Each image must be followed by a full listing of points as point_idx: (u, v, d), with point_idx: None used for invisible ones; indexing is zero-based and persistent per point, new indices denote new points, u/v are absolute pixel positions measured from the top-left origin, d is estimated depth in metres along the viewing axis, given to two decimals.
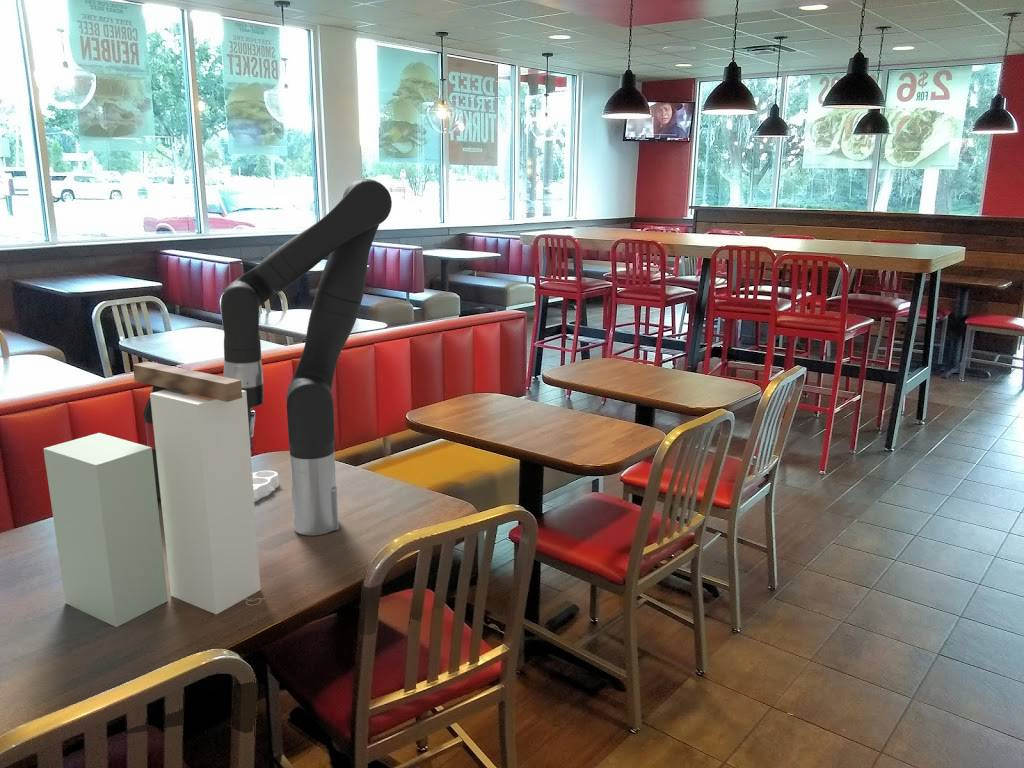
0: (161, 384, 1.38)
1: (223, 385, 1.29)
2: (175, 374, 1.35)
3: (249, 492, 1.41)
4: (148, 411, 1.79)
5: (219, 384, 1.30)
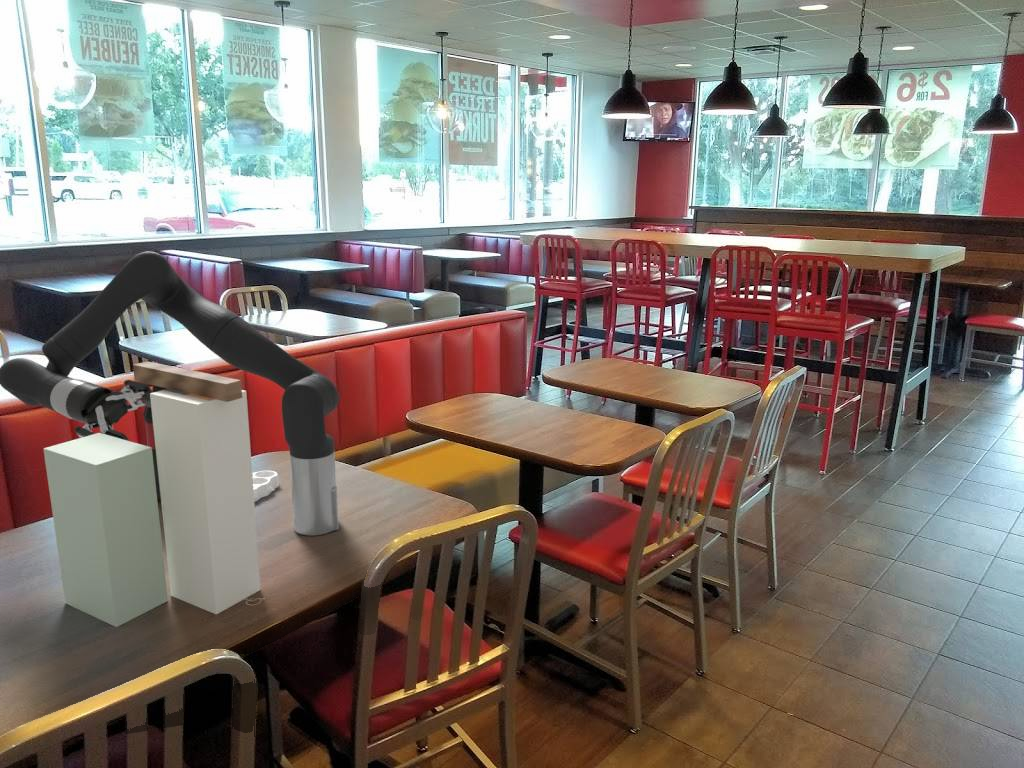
0: (161, 384, 1.38)
1: (223, 385, 1.29)
2: (175, 374, 1.35)
3: (249, 492, 1.41)
4: (148, 411, 1.79)
5: (219, 384, 1.30)
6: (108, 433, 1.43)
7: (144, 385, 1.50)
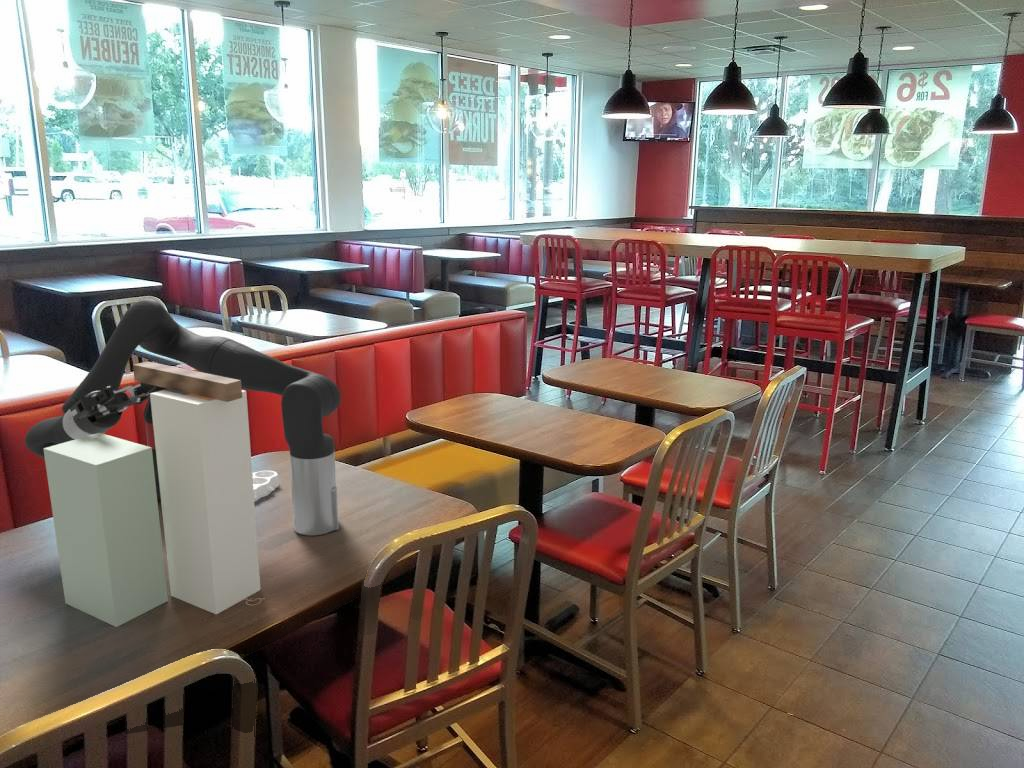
0: (161, 384, 1.38)
1: (223, 385, 1.29)
2: (175, 374, 1.35)
3: (249, 492, 1.41)
4: (148, 411, 1.79)
5: (219, 384, 1.30)
6: None
7: None
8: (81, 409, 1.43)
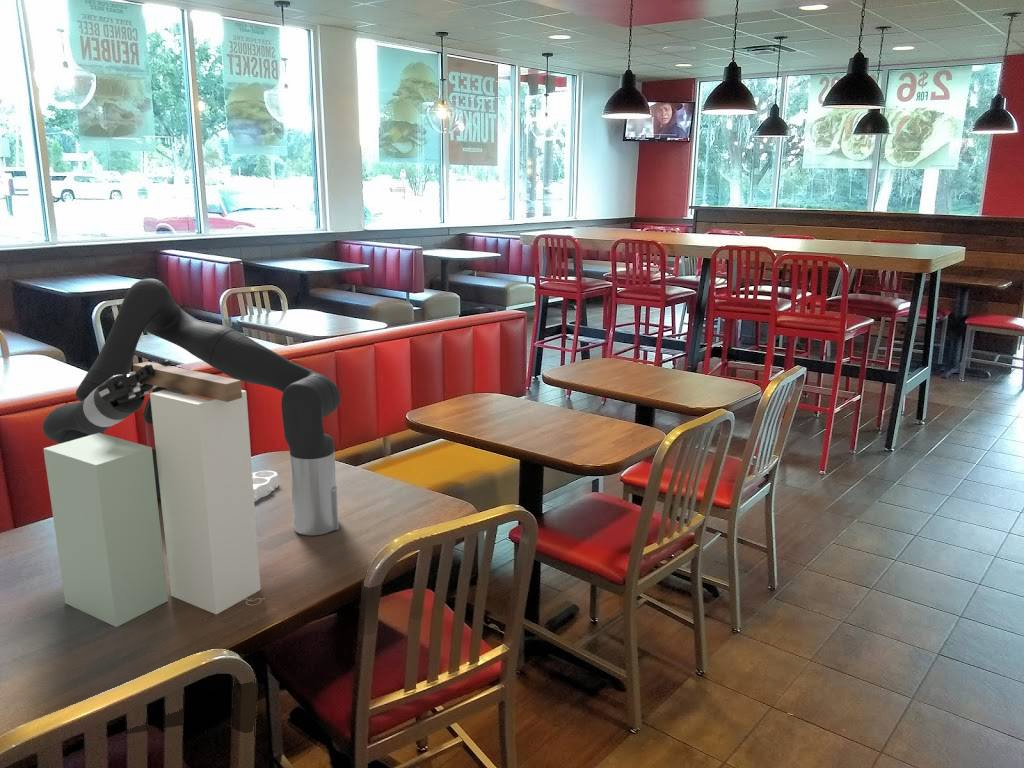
0: (160, 384, 1.38)
1: (223, 385, 1.29)
2: (175, 374, 1.35)
3: (249, 492, 1.41)
4: (148, 411, 1.79)
5: (218, 384, 1.30)
6: None
7: None
8: (116, 388, 1.39)
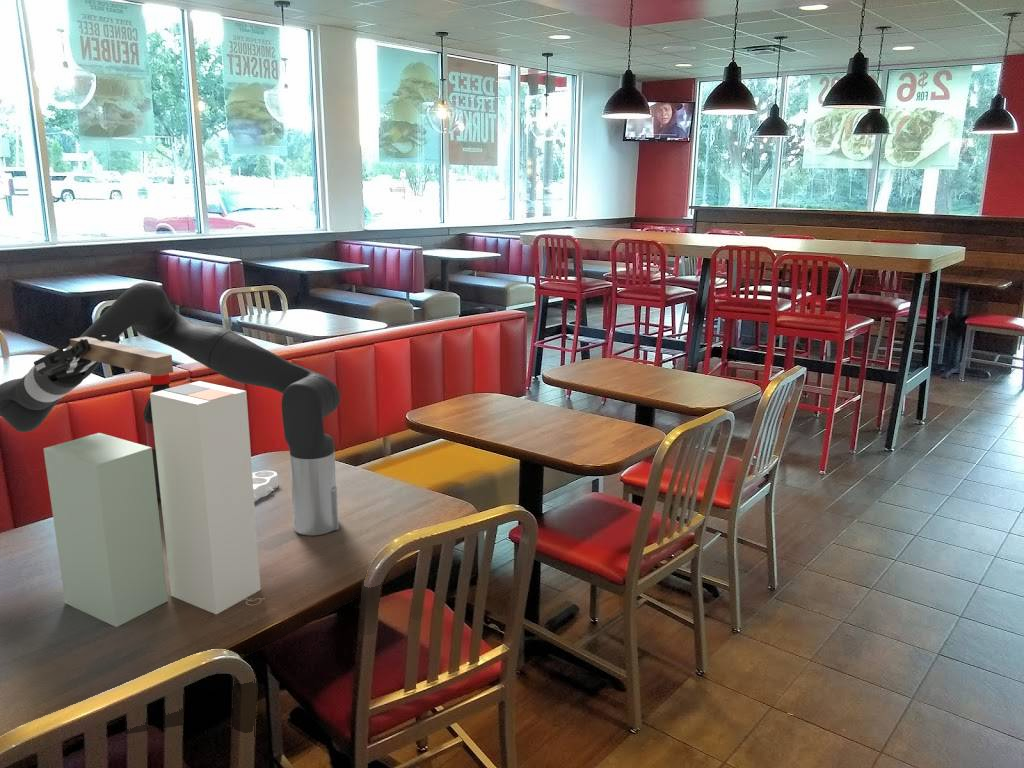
0: (95, 358, 1.38)
1: (152, 359, 1.29)
2: (108, 348, 1.35)
3: (249, 492, 1.41)
4: (148, 411, 1.79)
5: (148, 358, 1.30)
6: None
7: None
8: (52, 362, 1.39)
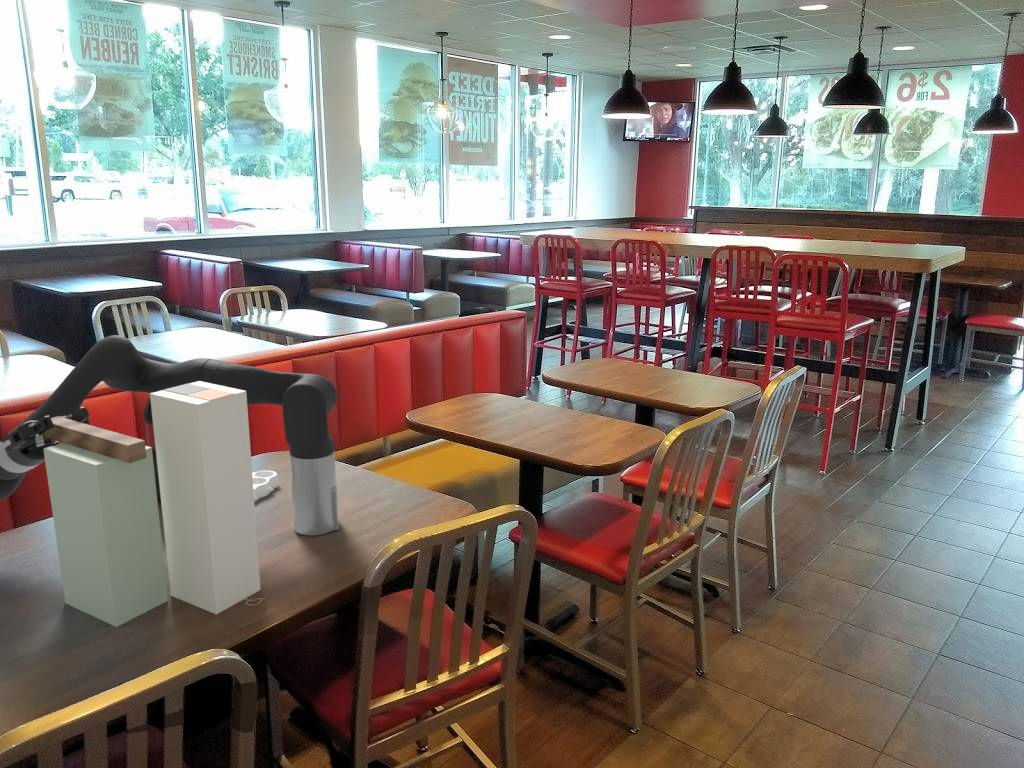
0: (68, 441, 1.35)
1: (125, 446, 1.27)
2: (80, 432, 1.33)
3: (249, 492, 1.41)
4: (148, 411, 1.79)
5: (121, 445, 1.28)
6: None
7: None
8: (16, 439, 1.35)
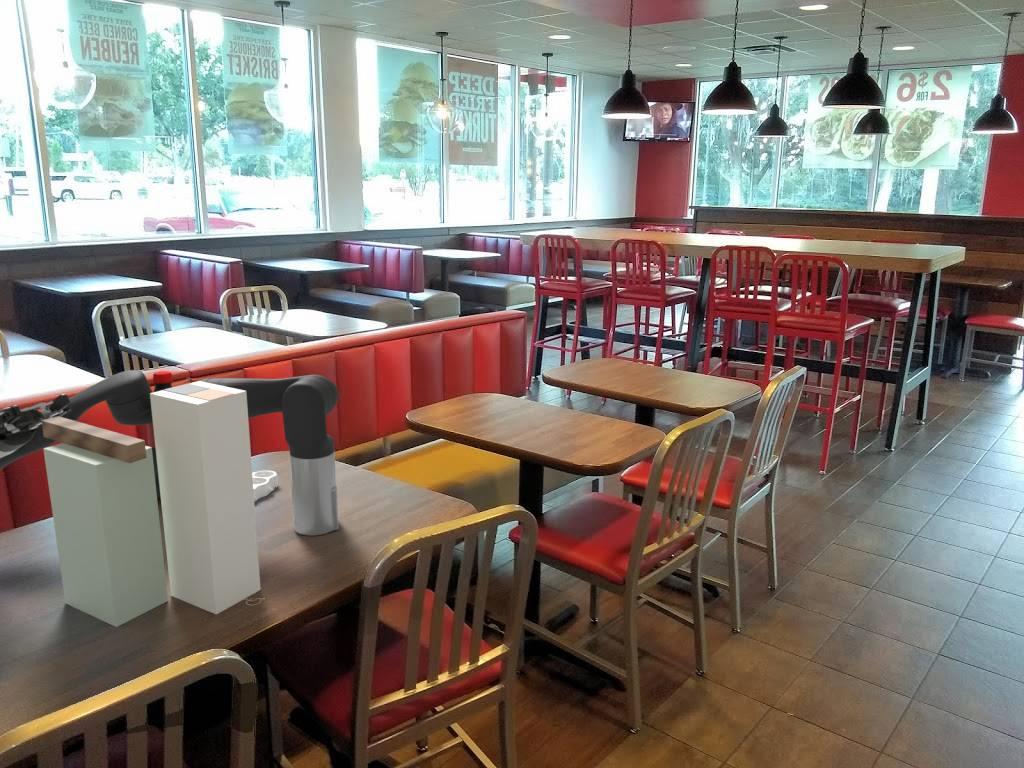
0: (68, 441, 1.35)
1: (125, 446, 1.27)
2: (80, 432, 1.33)
3: (249, 492, 1.41)
4: None
5: (121, 445, 1.28)
6: None
7: None
8: None
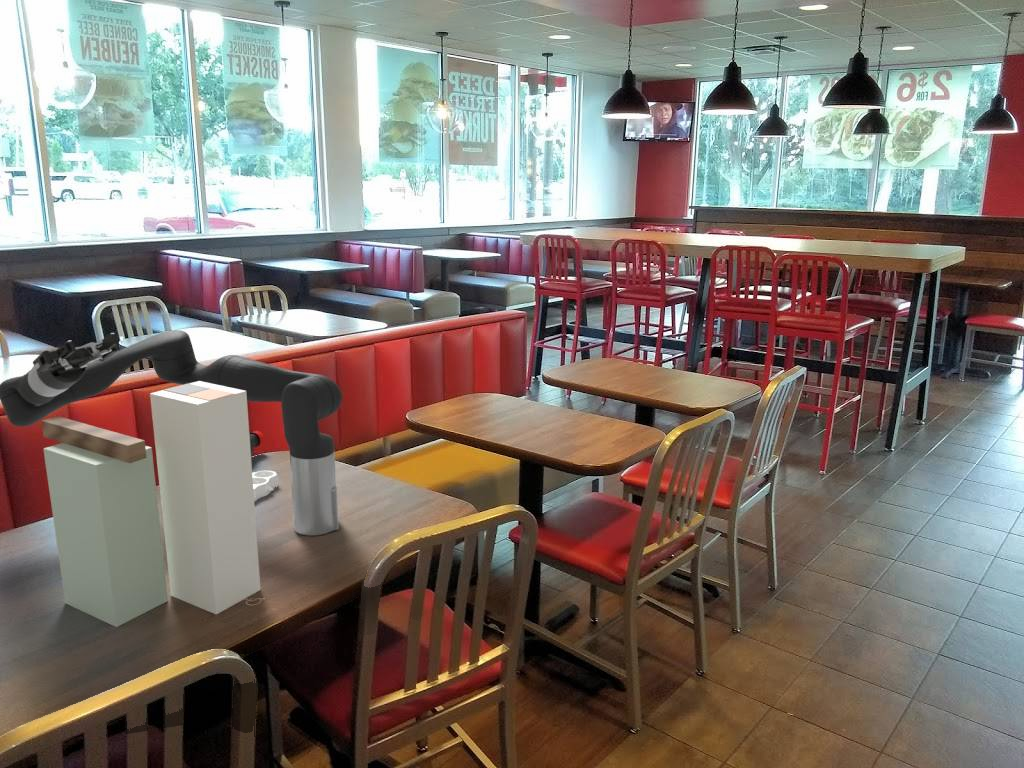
0: (68, 441, 1.35)
1: (125, 446, 1.27)
2: (80, 432, 1.33)
3: (249, 492, 1.41)
4: None
5: (121, 445, 1.28)
6: None
7: None
8: (43, 362, 1.48)
